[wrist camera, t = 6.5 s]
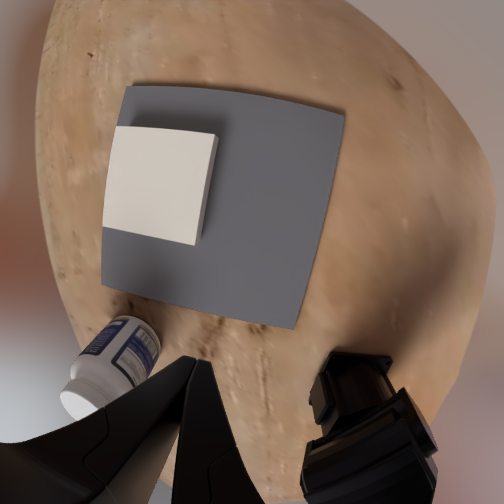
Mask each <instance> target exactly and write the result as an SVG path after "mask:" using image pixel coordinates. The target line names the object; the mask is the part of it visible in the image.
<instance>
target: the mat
mask: <svg viewBox="0 0 504 504" xmlns="http://www.w3.org/2000/svg"><path fill="white" fill-rule="evenodd" d="M344 120H345V116H343V115H340V114H336V113H333V112H330V111H326V110H322V109H319V108H315V107H311V106H307V105H303V104H298V103H294V102H290V101H285V100H280V99H275V98H270V97H265V96H259V95H253V94H246V93H240V92H232V91H224V90H215V89H205V88H193V87H175V86H127V87H126V91H125V94H124V98H123V102H122V106H121V110H120V114H119V118H118V123H117V126H128V127H147V128H161V129H173V130H183V131H192V132H200V133H208V134H215V135H216V136H217V137H218V138H219V141H218V146H217V150H216V155H215V160H214V165H213V171H212V176H211V181H210V186H209V192H208V198H207V203H206V209H205V215H204V221H203V227H202V233H201V240H200V241H199V242H198V243H197V244H196V245H195V246H194V245H189V244H185V243H180V242H175V241H170V240H165V239H161V238H156V237H151V236H146V235H142V234H137V233H132V232H128V231H123V230H118V229H113V228H109V227H104V226H103V233H102V262H101V281H102V285H104V286H107V287H110V288H114V289H117V290H120V291H124V292H127V293H131V294H134V295H138V296H141V297H145V298H149V299H152V300H156V301H160V302H164V303H168V304H172V305H176V306H180V307H184V308H188V309H192V310H196V311H201V312H205V313H210V314H214V315H219V316H223V317H228V318H233V319H238V320H243V321H248V322H253V323H258V324H263V325H269V326H274V327H280V328H286V329H292V330H294V327H295V324H296V320H297V317H298V314H299V311H300V307H301V304H302V300H303V297H304V294H305V290H306V287H307V283H308V280H309V276H310V272H311V269H312V265H313V261H314V258H315V254H316V250H317V246H318V242H319V238H320V234H321V230H322V226H323V222H324V218H325V214H326V210H327V205H328V201H329V196H330V192H331V187H332V183H333V178H334V173H335V168H336V164H337V159H338V153H339V148H340V143H341V137H342V132H343V126H344Z"/></svg>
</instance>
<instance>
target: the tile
mask: <svg viewBox="0 0 504 504" xmlns="http://www.w3.org/2000/svg"><path fill="white" fill-rule="evenodd" d="M218 141H219V138H218V137H217V136H216V135H215V134H208V133H200V132H192V131H183V130H173V129H161V128H147V127H128V126H116V129H115V134H114V139H113V145H112V150H111V156H110V162H109V168H108V175H107V183H106V191H105V200H104V211H103V224H102V226H104V227H109V228H113V229H118V230H123V231H128V232H132V233H137V234H142V235H146V236H151V237H156V238H161V239H165V240H170V241H175V242H180V243H185V244H189V245H194V246H195V245H196V244H197V243H198V242H199V241H200V240H201V233H202V227H203V221H204V215H205V209H206V203H207V198H208V192H209V186H210V181H211V176H212V171H213V165H214V160H215V155H216V150H217V146H218Z"/></svg>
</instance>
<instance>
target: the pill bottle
mask: <svg viewBox="0 0 504 504" xmlns="http://www.w3.org/2000/svg"><path fill="white" fill-rule="evenodd" d="M160 351H161V346H160V341H159V339H158V337H157V335H156V333H155V332H154V330H153V329H152V328H151V327H150V326H149V325H148V324H147V323H145V322H144V321H142V320H140V319H138V318H136V317H133V316H127V315H124V316H119V317H116V318H115V319H113V320H112V321H111V322H110V323H109V324H108V325H107V326H106V327H105V328H104V329H103V330H102V331H101V332H100V333H99V334H98V335H97V336H96V337H95V339H94V340H93V341H92V342H91V343H90V344H89V345H88V346H87V347H86V348H85V349H84V350H83V352H82V353H81V354H80V355H79V356H78V357H77V358H76V360H75V361H74V362H73V364H72V367H71V379H72V380H71V381H70V382H68V384H67V385H66V386H65V388H64V389H63V390H62V392H61V394H60V398H61V401H62V404H63V406H64V407H65V409H66V410H67V411H68V412H69V414H70V415H71V416H72V417H73V418H75V419H76V420H77V421H78V420H80V419H82V418H84V417H86V416H88V415H90V414H91V413H93V412H95V411H97V410H98V409H100V408H102V407H104V406H105V405H107V404H108V403H110V402H112V401H113V400H115V399H117V398H118V397H120V396H121V395H123V394H125V393H126V392H128V391H129V390H131V389H133V388H134V387H136V386H137V385H139V384H140V383H142V382H144V381H145V380H147V378H148V376H149V375H150V373H151V371H152V369H153V367H154V365H155V364H156V362H157V360H158V358H159V355H160Z"/></svg>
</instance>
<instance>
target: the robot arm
mask: <svg viewBox="0 0 504 504" xmlns="http://www.w3.org/2000/svg"><path fill="white" fill-rule="evenodd" d="M335 356H336V358H333V357H335ZM387 361H388V362H387ZM392 363H393V360H392V358H391V357H390V356H379V355H366V354H355V353H345V352H331V353H330V354H329V355H328V358H327V360H326V362H325V365H324V367H323V369H322V371H321V372H320V373H318V375H317V378H316V380H315V382H314V384H313V386H312V389H311V391H310V398H309V400H308V401H309V405H311V406H312V407H313V413H314V419H315V423H316V424H317V425H321V428H322V433H323V437H321V438H319V439H316V440H312V441H310V442H308V443H307V446H306V451H305V456H304V461H303V466H302V471H301V476H300V486H301V488H302V491H303V494H304V498H305V500H306V501H307V502H308V504H432V501H433V497H434V492H435V488H436V482H437V474H438V469H437V467H436V465H435V463H434V460H433V459H432V456H431V455H432V454H434V453H436V452H437V451H438V447H437V445H436V442H435V439H434V437H433V434H432V432H431V430H430V427H429V426H428V424H427V422H426V420H425V418H424V417H423V415H422V413H421V411H420V410H419V408H418V407H417V405H416V404H415V402H414V401H413V399H412V398H411V396H410V395H409V394H408V392H407V391H406V389H405V388H404V387H403V388H402V389H400V390H399V391H398V393H396V392H395V390H394V388H393V386H392V384H391V382H390V380H389V378H388V377H387V375H386V374H387V372H388V370H389V368H390V367H391V365H392ZM178 433H179V438H178V445H177V453H176V462H175V470H174V479H173V489H172V499H171V504H265V503H264V501H263V500H262V498H261V496H260V495H259V493H258V491H257V490H256V488H255V486H254V484H253V482H252V481H251V479H250V477H249V475H248V473H247V471H246V468H245V466H244V463H243V461H242V459H241V456H240V453H239V450H238V448H237V447H236V442H235V439H234V436H233V433H232V430H231V427H230V424H229V421H228V418H227V415H226V412H225V408H224V405H223V402H222V399H221V395H220V392H219V389H218V385H217V382H216V378H215V375H214V371H213V368H212V364H211V362H209V361H205V360H201V359H198V360H196V358H193V357H189V356H185V355H184V356H182V357H180V358H179V359H177V360H176V361H174V362H173V363H171V364H170V365H168V366H167V367H165V368H164V369H162V370H161V371H159V372H157V373H156V374H154V375H153V376H151V377H150V378H148V379H147V380H145V381H144V382H142V383H140V384H139V385H137V386H136V387H134V388H133V389H131V390H129V391H128V392H126V393H125V394H123V395H121V396H120V397H118V398H117V399H115V400H113V401H112V402H110V403H108V404H107V405H105V406H104V407H102V408H100V409H98V410H97V411H95V412H93V413H91V414H90V415H88V416H86V417H84V418H82V419H80V420H78V421H76V422H74V423H72V424H70V425H67V426H65V427H62V428H60V429H57V430H55V431H52V432H49V433H47V434H44V435H41V436H38V437H36V438H33V439H30V440H27V441H23V442H18V443H1V442H0V504H148V501H149V499H150V497H151V494H152V492H153V490H154V488H155V485H156V483H157V481H158V478H159V476H160V474H161V472H162V469H163V467H164V465H165V463H166V460H167V458H168V456H169V454H170V451H171V449H172V447H173V444H174V442H175V440H176V438H177V435H178Z"/></svg>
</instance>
